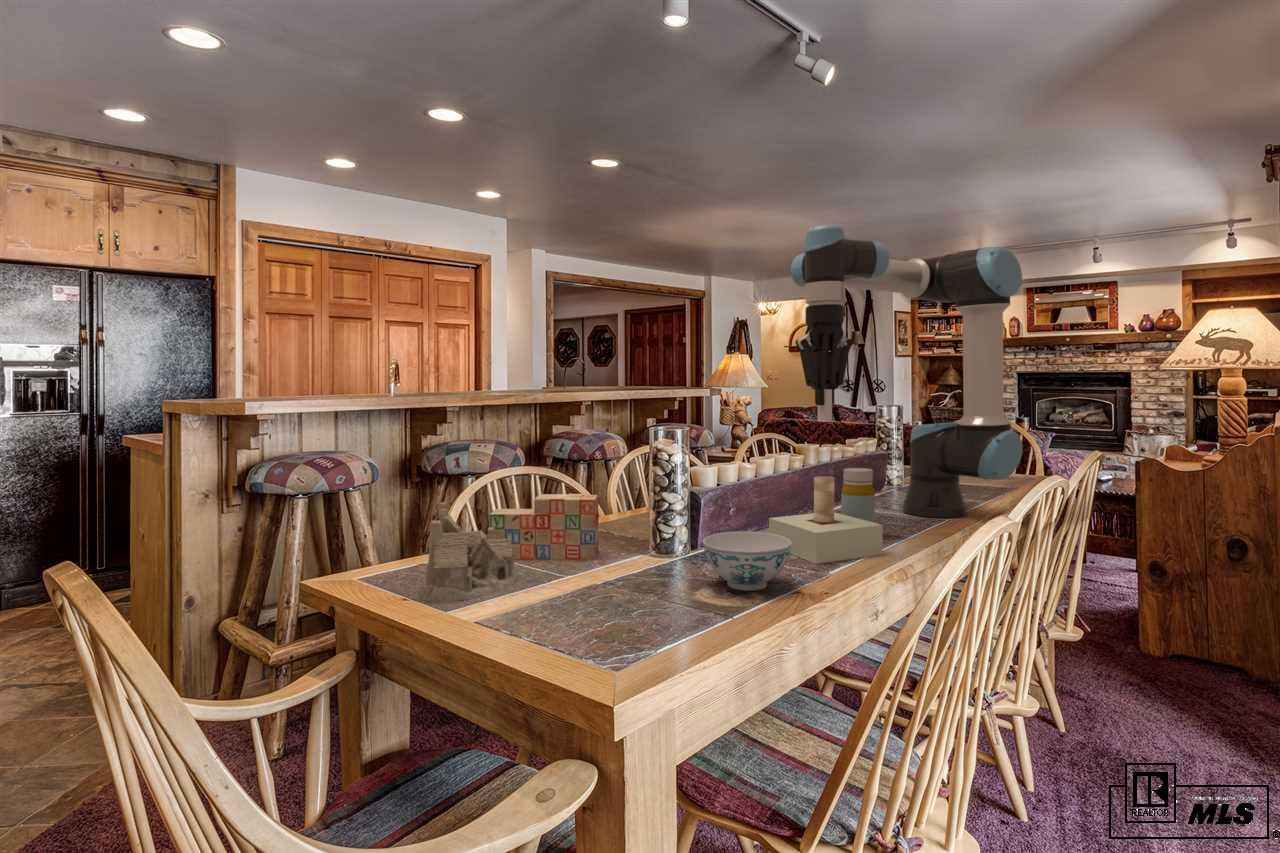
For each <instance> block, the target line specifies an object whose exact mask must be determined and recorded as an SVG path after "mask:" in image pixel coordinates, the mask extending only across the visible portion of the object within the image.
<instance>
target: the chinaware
mask: <svg viewBox="0 0 1280 853" xmlns="http://www.w3.org/2000/svg"><path fill="white" fill-rule="evenodd" d="M702 543H703V545H702V546H703V549H704V552H705V553H704V554H705V556H706V559H707V560H708V563H709V564H710V566H711V567H712V569H713V570H714V572H716V573H717V575H718V576H720V577H721V578H722V579H723V580H725V581H726V584H727V586H728V587H729V588H731V589H733V590H738V591H745V592H747V591H753V592H754V591H760V590H763V589H765V588H767V586H768V582H769V581H771V580H773V579H774V578H775V577H776V576H778V574H779V573H780V572H781V571H782V570H783V569H784V567H785V566H786V563H787V561H788V559H789V556H790V555H791V554H790V550H791V544H792V542H791V540H789V539H788V538H786V537H783V536H780V535H776V534H770V533H769V532H762V531H728V532H719V533H714V534H710V535H707V536H705V537H704V538H703V540H702Z"/></svg>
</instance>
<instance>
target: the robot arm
mask: <svg viewBox="0 0 1280 853" xmlns="http://www.w3.org/2000/svg"><path fill="white" fill-rule="evenodd" d="M844 231H845V230H844V228H843V227H842V226H841V225H837V224H824V225H823V224H822V225H816V226H813V227H810V228H809V229H808V230H807V231H806V233H805V240H804V242H805V243H804V252H803V253H801V254H798V255H796V256H795V257H794V258H793V260H792V262H791V264H790V276H791V280H793V282H794V284H796V285H798V286H799V287H803V288H805V304H807V305H808V306H806V307H805V324H806V325H807V327H806V330H805V333H804V336H803V337H802V338H801V339H796V340H795V346H796V347H797V349H798V351H799V354H800V355H799V356H800V360H801V365H802V369H803V374H804V379H805V383H806V384H805V385H806V387H811V389H812V390H814V403H815V406H817V422H824V423H825V422H826V423H827V422H828V423H830V422H831V423H832V422H833V406H834V405H835V391H836V390H837V389H839V386H840V387H841V386H843V384H844V380H845V374H846V371H847V370H846V369H847V364H848V358H849V353H850V349H851V347H852V346H853V344H854V340H853V339H852V338H848V337H846V336H845V334H844V330H843V328H842V325H843V323H844V322H845V317H844V316H845V312H844V310H845V308H844V306H843V302H844V301H845V288H846V289H847V288H848V289H858V290H868V291H869V290H870V291H879V292H887V293H899V294H901V295H902V296H903V297H905V298H907V299H916V300H923V301H929V302H930V301H931V302H936V303H955V310H956V311H957V312H958V313H960V314H961V316H962V372H963V374H962V375H963V376H962V378H963V379H962V381H963V384H962V386H963V396H962V397H963V415H962V417H961V418H959V420H957V421H950V422H940V423H939V422H938V423H927V424H919V425H915V426H913V427H912V429H911V431H910V432H911V433H910V440H909V447H910V448H909V449H910V450H909V453H910V454H909V458H910V460H909V463H910V466H909V467H910V468H909V469H910V480H909V484H908V487H907V490H906V495H905V498H904V500H903V501H902V512H904V513H905V514H908V515H912V516H918V517H925V518H936V519H937V518H940V519H942V518H947V519H949V518H960V517H964V516H966V515H967V504H966V503H965V501H964V496H963V493H962V490H961V486H960V476H962V477H963V476H964V477H972V478H977V479H979V478H980V479H983V480H997V481H998V480H1004V479H1006V478H1008V477H1010V476H1011V475H1012V474H1013V473H1014V472H1015V471H1016V469H1017V468H1018V466H1019V464H1020V462H1021V459H1022V457H1023V456H1022V455H1023V442H1022V439H1021V437H1020V435H1019V434H1018V433H1017V432H1015V431H1013V430H1012V429H1011V428H1012V426H1011V425H1012V422H1011V420H1009V419H1008V418H1007V417H1006V416H1005V415H1004V312H1005V311H1006V310H1007V309H1008V308H1009V307H1010V306H1011V297H1013V296H1014V295H1016V294H1017V293H1018V292H1019V290H1020V287H1021V286H1022V283H1023V274H1022V268H1021V264H1020V262H1019V260H1018V258H1017V256H1015V254H1014V252H1012V251H1011V250H1010V249H1009V248H1007V247H1004V246H1001V245H1000V246H999V245H998V246H986V247H980V248H975V249H970V250H966V251H960V252H957V253H956V252H955V253H949V254H945V255H940V256H934V257H929V258H914V257H913V258H911V259H909V260H907V261H905V260H900V259H899V260H898V259H890V252H889V249H888V248H887V246H885V244H883V243H880V242H877V241H874V240H873V241H872V240H860V239H858V240H857V239H850V238H849V239H847V238H845V237H846V236H845V234H844Z"/></svg>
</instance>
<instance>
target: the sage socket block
mask: <svg viewBox="0 0 1280 853" xmlns="http://www.w3.org/2000/svg"><path fill="white" fill-rule="evenodd" d="M883 528H884V526H883V524H880V523H877V522H875V523H873V522H870V521H866V520H862V519H858V518H854V517H850V516H846V515H843V514H841V513H838V512H835V511H834V524H827V525H820V524H816V523H814V512H813V513H803V514H795V515H787V516H786V515H785V516H778V517H776V516H775V517H769V518H768V533H770V534H776V535H780V536H783V537H786V538H788V539H789V540H791V542H792V544H791V550H790V554H789V555H791V554H792V555H791V556H794V557H796V556H797V558H799V557H800V558H799V559H802V560H804V559H805V561H807V562H811V563H812V564H816V565H818V564H825V563H831V562H839V561H847V560H854V559H862V558H867V557H876V556H882V555H883V535H884V534H883Z"/></svg>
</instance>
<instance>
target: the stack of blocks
mask: <svg viewBox="0 0 1280 853" xmlns="http://www.w3.org/2000/svg"><path fill="white" fill-rule="evenodd" d="M599 519H600V518H599V495H598V494H583V493H568V494H566V493H564V494H563V493H559V494H557V493H556V494H552V493H551V494H548V493H547V494H545V493H543V494H538V495H537V496H536V497H535V498H534V499H533V508H496V509H494V510H493V511H492V512H490V514H489V520H488V521H489V527H493V528H495V535H496V540H501V539H511V542H512V553H513V554H514V556H513V557H514V560H596V559H597V557H598V554H599V546H600V545H599V544H600V543H599Z"/></svg>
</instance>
